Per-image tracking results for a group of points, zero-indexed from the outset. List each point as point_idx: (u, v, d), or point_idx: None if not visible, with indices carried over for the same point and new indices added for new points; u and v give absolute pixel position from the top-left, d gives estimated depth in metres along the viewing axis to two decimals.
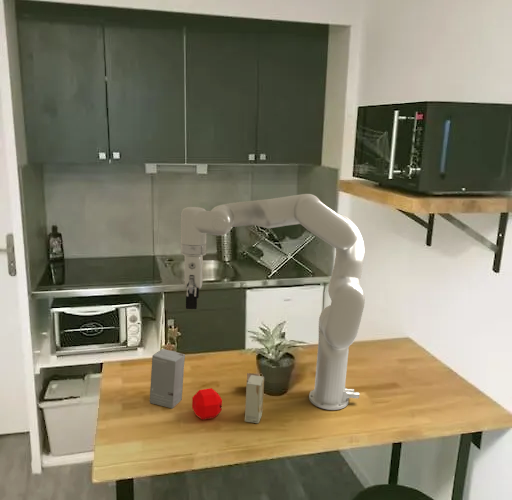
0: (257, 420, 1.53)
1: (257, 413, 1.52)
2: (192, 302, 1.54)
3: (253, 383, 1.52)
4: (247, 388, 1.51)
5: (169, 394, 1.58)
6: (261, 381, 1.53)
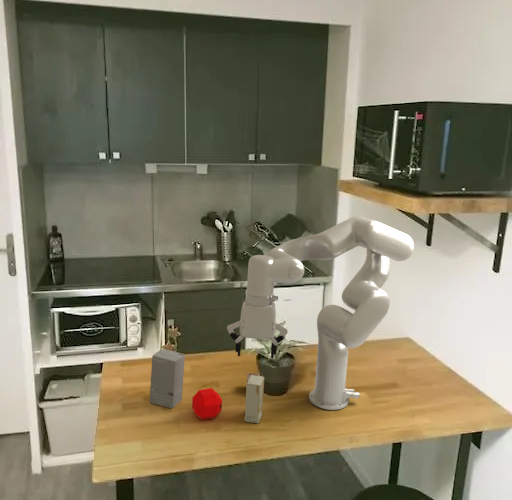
0: (257, 420, 1.53)
1: (257, 413, 1.52)
2: None
3: (253, 383, 1.52)
4: (247, 388, 1.51)
5: (169, 394, 1.58)
6: (261, 381, 1.53)
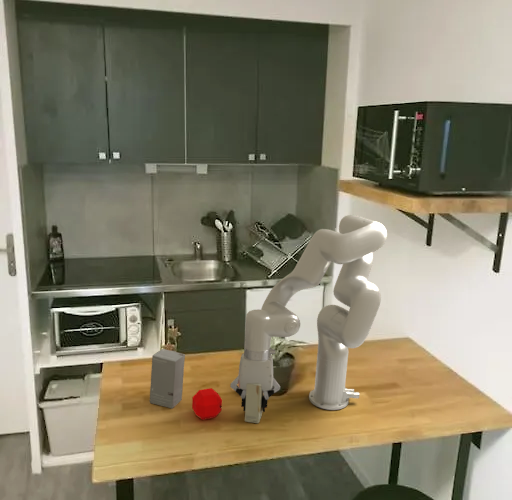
0: (257, 420, 1.53)
1: (257, 413, 1.52)
2: None
3: None
4: (247, 388, 1.51)
5: (169, 394, 1.58)
6: None
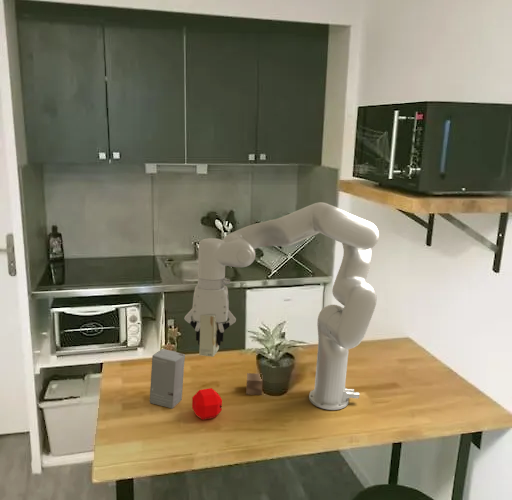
0: (212, 353, 1.48)
1: (212, 346, 1.47)
2: None
3: None
4: (201, 319, 1.46)
5: (169, 394, 1.58)
6: None
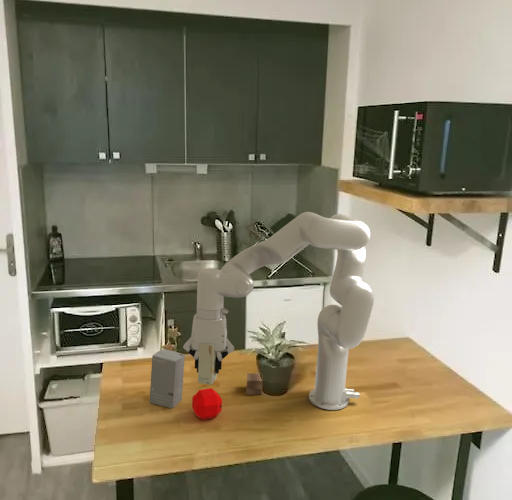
0: (210, 381, 1.50)
1: (210, 374, 1.49)
2: (221, 363, 1.53)
3: None
4: (200, 348, 1.49)
5: (169, 394, 1.58)
6: None
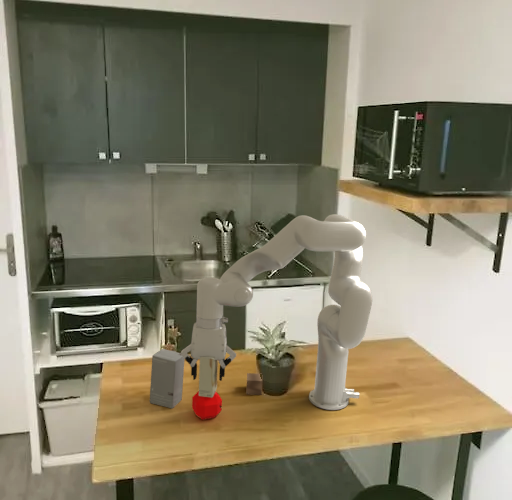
0: (211, 394, 1.51)
1: (211, 387, 1.51)
2: (224, 371, 1.53)
3: None
4: (200, 362, 1.49)
5: (169, 394, 1.58)
6: None
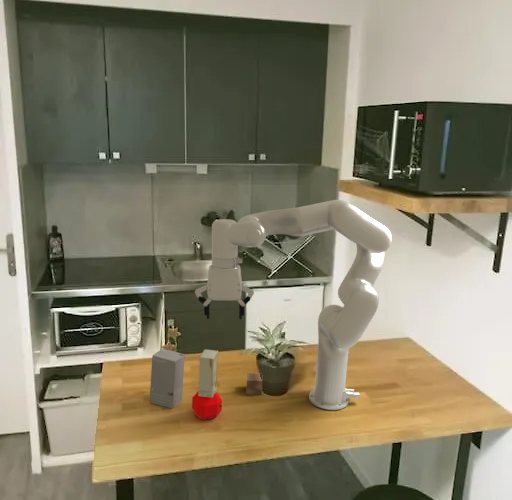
0: (211, 394, 1.51)
1: (211, 387, 1.51)
2: None
3: (206, 356, 1.50)
4: (200, 362, 1.49)
5: (169, 394, 1.58)
6: (215, 355, 1.51)
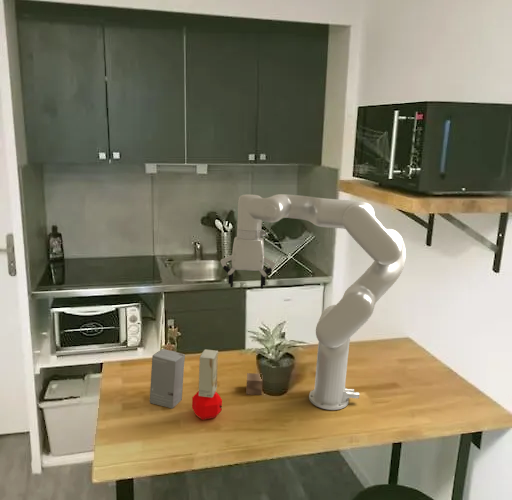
0: (211, 394, 1.51)
1: (211, 387, 1.51)
2: None
3: (206, 356, 1.50)
4: (200, 362, 1.49)
5: (169, 394, 1.58)
6: (215, 355, 1.51)
